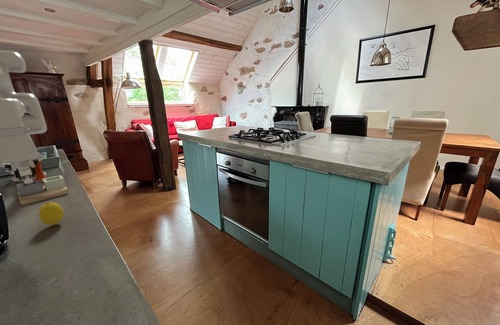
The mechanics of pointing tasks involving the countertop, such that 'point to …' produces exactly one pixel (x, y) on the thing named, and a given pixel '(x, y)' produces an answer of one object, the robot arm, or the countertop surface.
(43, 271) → the countertop surface
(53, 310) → the countertop surface
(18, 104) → the robot arm
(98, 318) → the countertop surface
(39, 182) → the block
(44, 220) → the lemon
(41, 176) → the toy drill
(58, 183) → the pale green hollow frame
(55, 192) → the board
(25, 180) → the light grey block
